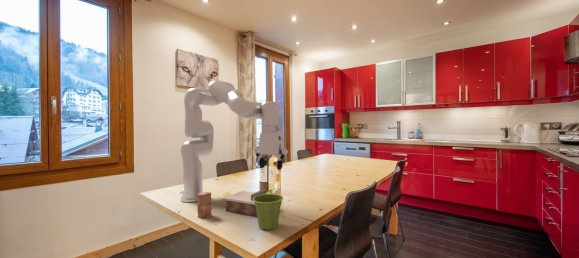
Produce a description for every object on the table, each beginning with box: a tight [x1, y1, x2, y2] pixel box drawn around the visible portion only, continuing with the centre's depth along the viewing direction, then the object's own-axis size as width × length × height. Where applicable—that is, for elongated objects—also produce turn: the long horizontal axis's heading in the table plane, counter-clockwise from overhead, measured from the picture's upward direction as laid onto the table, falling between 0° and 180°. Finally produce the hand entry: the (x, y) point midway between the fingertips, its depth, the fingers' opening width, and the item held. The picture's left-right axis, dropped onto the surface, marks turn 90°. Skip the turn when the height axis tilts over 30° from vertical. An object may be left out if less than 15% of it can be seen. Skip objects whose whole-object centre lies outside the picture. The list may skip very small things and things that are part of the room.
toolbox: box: [225, 199, 258, 218], centre depth 112 cm, size 18×13×5 cm
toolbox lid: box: [225, 188, 268, 205], centre depth 112 cm, size 18×13×4 cm
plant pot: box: [253, 193, 284, 231], centre depth 93 cm, size 12×12×11 cm
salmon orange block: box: [197, 191, 213, 219], centre depth 105 cm, size 4×4×10 cm
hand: (270, 168), depth 107 cm, fingers open, 8 cm apart
